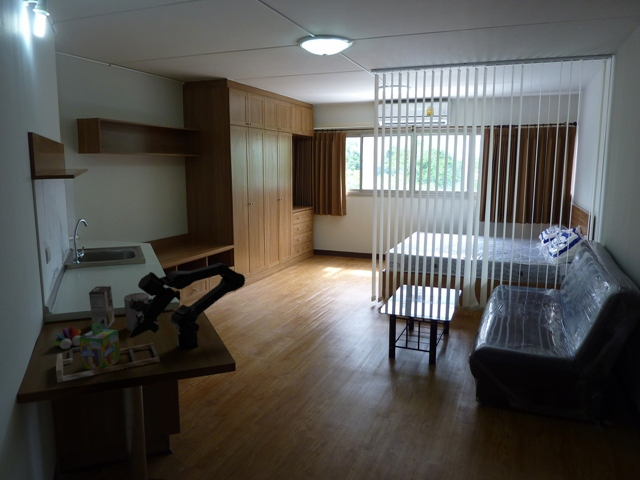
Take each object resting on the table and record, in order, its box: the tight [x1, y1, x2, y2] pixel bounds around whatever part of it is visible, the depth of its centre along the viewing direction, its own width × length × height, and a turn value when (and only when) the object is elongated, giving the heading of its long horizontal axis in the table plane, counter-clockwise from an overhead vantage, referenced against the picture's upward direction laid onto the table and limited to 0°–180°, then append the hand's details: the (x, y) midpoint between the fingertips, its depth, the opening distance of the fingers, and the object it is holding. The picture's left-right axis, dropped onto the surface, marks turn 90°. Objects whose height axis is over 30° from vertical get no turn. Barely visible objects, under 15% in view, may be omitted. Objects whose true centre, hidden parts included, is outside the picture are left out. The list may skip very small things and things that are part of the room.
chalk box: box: [79, 322, 122, 371], centre depth 164 cm, size 9×9×15 cm
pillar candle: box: [123, 292, 150, 332], centre depth 199 cm, size 10×10×15 cm
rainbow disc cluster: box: [54, 326, 82, 350], centre depth 182 cm, size 8×10×7 cm
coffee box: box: [88, 285, 116, 329], centre depth 201 cm, size 9×6×16 cm
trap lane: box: [55, 342, 161, 383], centre depth 170 cm, size 32×25×4 cm
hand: (130, 337), depth 168 cm, fingers closed
